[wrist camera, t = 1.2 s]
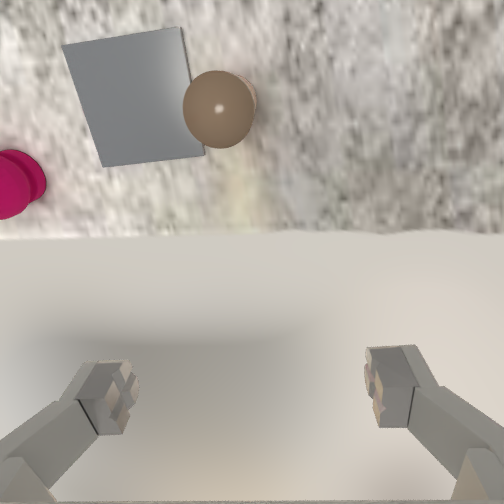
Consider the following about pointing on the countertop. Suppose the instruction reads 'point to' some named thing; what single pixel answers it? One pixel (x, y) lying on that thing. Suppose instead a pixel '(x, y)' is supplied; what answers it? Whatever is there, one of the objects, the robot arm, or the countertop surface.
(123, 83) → the pad
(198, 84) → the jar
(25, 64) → the countertop surface
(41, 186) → the pepper mill
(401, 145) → the countertop surface
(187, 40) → the countertop surface
